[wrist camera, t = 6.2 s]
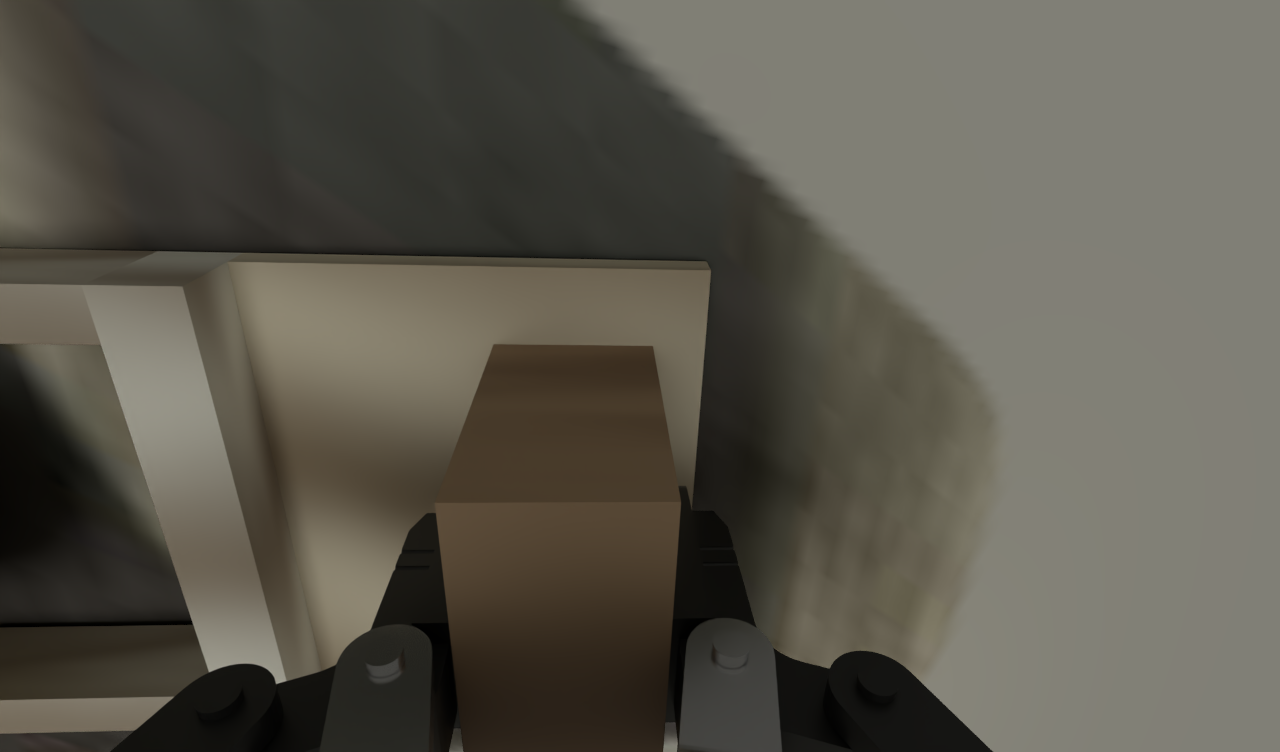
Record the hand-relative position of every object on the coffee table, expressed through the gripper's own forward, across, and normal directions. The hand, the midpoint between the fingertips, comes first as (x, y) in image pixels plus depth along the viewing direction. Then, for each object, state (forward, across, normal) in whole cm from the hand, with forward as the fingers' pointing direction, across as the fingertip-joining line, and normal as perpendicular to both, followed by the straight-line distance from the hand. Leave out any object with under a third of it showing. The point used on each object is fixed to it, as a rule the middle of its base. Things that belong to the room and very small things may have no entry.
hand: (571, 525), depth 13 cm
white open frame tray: (+2, +6, 0) cm, 7 cm away
